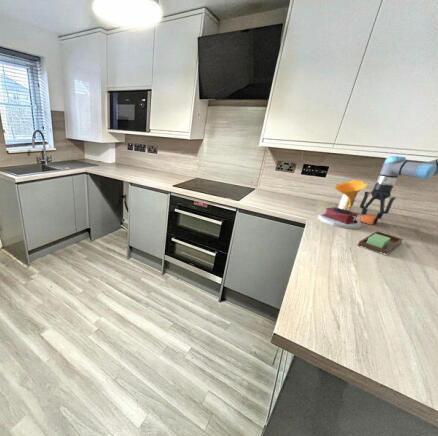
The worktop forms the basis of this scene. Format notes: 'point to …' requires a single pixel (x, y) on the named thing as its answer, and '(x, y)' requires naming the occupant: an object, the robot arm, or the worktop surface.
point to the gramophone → (344, 216)
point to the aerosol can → (346, 202)
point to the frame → (391, 245)
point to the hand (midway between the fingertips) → (368, 221)
